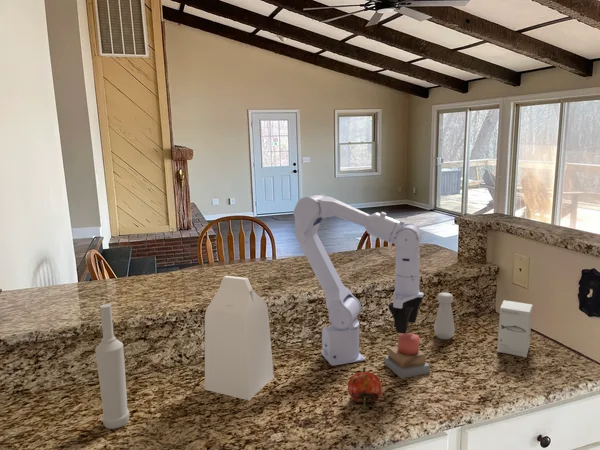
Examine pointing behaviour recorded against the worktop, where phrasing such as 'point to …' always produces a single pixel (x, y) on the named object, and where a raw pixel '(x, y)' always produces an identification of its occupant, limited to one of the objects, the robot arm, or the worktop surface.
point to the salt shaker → (444, 317)
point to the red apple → (365, 387)
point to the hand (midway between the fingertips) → (406, 327)
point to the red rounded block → (408, 343)
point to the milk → (237, 341)
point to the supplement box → (514, 328)
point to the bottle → (111, 374)
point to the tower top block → (406, 358)
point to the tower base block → (407, 369)
